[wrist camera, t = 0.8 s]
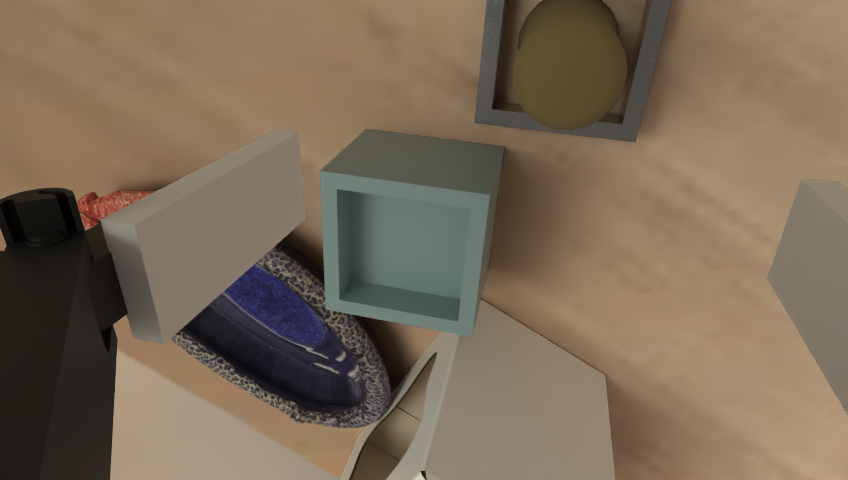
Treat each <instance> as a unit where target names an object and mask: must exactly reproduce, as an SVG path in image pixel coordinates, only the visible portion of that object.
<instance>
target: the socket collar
mask: <svg viewBox="0 0 848 480" xmlns="http://www.w3.org/2000/svg"><path fill="white" fill-rule="evenodd" d="M671 1H672V0H647V1H646V5H645V9H644V13H643V18H642V22H641V26H640V31H639V35H638V39H637V43H636V48H635V52H634V56H633V61H632V65H631V69H630V73H629V78H628V82H627V86H626V91H625V95H624V99H623V103H622V108H621V112H620V116H618V115H609V114H605V115H604V116H603V117H602V118H601V119H600V120H598V121H596V122H594V123H592V124H590V125H588V126H586V127H584V128H579V129H573V130H567V131H566V130H558V129H550V128H548V127H546V126H544V125H542V124H540V123H537V122H536V121H534V120H533V119H532V118H531V117H530V116H529V115H528V114H527V113H526V112H525V111H524V110H523V109H522V107H521V105H520V104H511V103H502V102H495V99H496V90H497V82H498V74H499V65H500V57H501V48H502V40H503V32H504V23H505V15H506V6H507V0H487V5H486V15H485V25H484V35H483V45H482V54H481V64H480V74H479V84H478V93H477V103H476V113H475V123H479V124H487V125H496V126H504V127H512V128H521V129H529V130H538V131H546V132H554V133H563V134H571V135H579V136H588V137H596V138H604V139H613V140H621V141H629V142H636V139H637V135H638V131H639V127H640V123H641V119H642V115H643V111H644V107H645V103H646V99H647V95H648V91H649V87H650V84H651V80H652V76H653V72H654V68H655V64H656V60H657V56H658V52H659V48H660V44H661V40H662V36H663V32H664V28H665V24H666V21H667V17H668V13H669V9H670V5H671Z"/></svg>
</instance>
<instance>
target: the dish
mask: <svg viewBox="0 0 848 480" xmlns="http://www.w3.org/2000/svg"><path fill="white" fill-rule="evenodd" d="M154 192H156V191H129V190H122V191H116V192H113V193H111V194H109V195H106V196H104V197H101V198H98V196H97V195H96V193H95V192H91V193H88V194H86V195H84V196H83V197H82V198H80V199H79V200H78V205H77V206H78V209H79V213H80V216H81V219H82V223H83V224H84V226H85V228H86V230H88V229H90V228H92V227H94V226H96V225H98V224H99V223H101V221H100V220H101V219H103V218H105V217H107V216H109V215H111V214H113V213H115V212H117V211H119V210H121V209H123V208H125V207H127V206H128V205H130V204H132V203H134V202H136V201H138V200H140V199H142V198H144V197H146V196H148V195H150V194H152V193H154ZM171 340H173V341H174V342H175V343H176V344H178V345H179V346H180V347H181V348H183V349H184V350H185V351H186V352H188V353H189V354H190V355H192V356H193V357H195V358H196V359H197V360H199V361H200V362H201V363H203V364H204V365H206V366H207V367H208V368H210V369H211V370H213V371H214V372H216V373H217V374H219V375H220V376H222V377H223V378H225V379H227V380H228V381H230V382H231V383H233V384H235V385H236V386H238V387H240V388H241V389H243V390H245V391H246V392H248V393H250V394H252V395H254V396H255V397H257V398H259V399H261V400H263V401H264V402H266V403H268V404H270V405H272V406H273V407H275V408H277V409H279V410H281V411H282V412H284V413H286V414H288V415H290V418H291V420H292V421H294V422H296V423H304V422H308V423H313V424H318V425H325V426H331V427H339V428H358V427H363V426H367V425H370V424H372V423H374V422H376V421H378V420H379V419H380V418H381V417H382V416H383V415H384V414H385V413H386V410H387V408H388V405H389V402H390V393H391V388H390V383H389V377H388V373H387V368H386V364H385V360H384V357H383V355H382V352H381V350H380V348H379V346H378V344H377V342H376V340H375V338H374V337H373V335H372V333H371V331H370V329H369V328H368V326H367V324H366V323H365V321H364V320H363V318H362V317H361V316H358V315H352V314H347V313H342V312H336V311H331V310H326V305H325V281H324V274H323V273H322V272H321V271H320V270H319V269H318V268H317V267H315V266H314V265H313V264H312V263H311V262H310V261H308V260H307V259H306V258H305V257H304V256H302V255H301V254H300V253H298V252H297V251H296V250H294V249H293V248H292V247H290V246H289V245H288V244H286V243H285V242H284V241H282V240H281V241H280V242H279V243H278V244H277V245H276V246H274V247H273V248H272V249H271V250H270V251H269V252H268V253H266V254H265V255H264V256H263V257H262V258H261V259H260V260H259V261H257V262H256V263H255V264H254V265H253V266H252V267H251V268H250V269H248V270H247V271H246V272H245V273H244V274H243V275H242V276H241V277H239V278H238V279H237V280H236V281H235V282H234V283H233V284H232V285H230V286H229V287H228V288H227V289H226V290H225V291H224V292H223V293H221V294H220V295H219V296H218V297H217V298H216V299H215V300H213V301H212V302H211V303H210V304H209V305H208V306H207V307H206V308H204V309H203V310H202V311H201V312H200V313H199V314H198V315H197V316H195V317H194V318H193V319H192V320H191V321H190V322H189V323H188V324H186V325H185V326H184V327H183V328H182V329H181V330H180V331H179V332H177V333H176V334H175V335H174V336H173V337H172V338H171Z"/></svg>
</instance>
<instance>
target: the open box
mask: <svg viewBox="0 0 848 480" xmlns="http://www.w3.org/2000/svg"><path fill="white" fill-rule="evenodd" d="M503 154H504V147H502V146H495V145H487V144H479V143H471V142H463V141H455V140H447V139H439V138H431V137H423V136H415V135H407V134H399V133H391V132H383V131H375V130H368V129H366V130H364V131H363V132H362V133H361V134H360V135H359V136H358V137H357V138H356V139H355V140H353V141H352V142H351V143H350V144H349V145H348V146H347V147H346V148H345V149H344V150H342V151H341V152H340V153H339V154H338V155H337V156H336V157H335V158H334V159H333V160H331V161H330V162H329V163H328V164H327V165H326V166H325V167H324V168H323V169H322V170H320V184H321V208H322V232H323V257H324V281H325V305H326V310H331V311H336V312H342V313H347V314H352V315H358V316H363V317H368V318H374V319H379V320H384V321H390V322H395V323H400V324H406V325H411V326H416V327H422V328H427V329H432V330H438V331H443V332H448V333H454V334H459V335H464V336H470V337H472V336H473V331H474V327H475V323H476V319H477V315H478V310H479V306H480V302H481V298H482V294H483V289H484V285H485V281H486V277H487V273H488V267H489V260H490V252H491V245H492V237H493V230H494V222H495V214H496V207H497V199H498V192H499V184H500V177H501V169H502V162H503Z"/></svg>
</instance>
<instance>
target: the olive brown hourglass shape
mask: <svg viewBox="0 0 848 480" xmlns="http://www.w3.org/2000/svg"><path fill="white" fill-rule="evenodd" d="M518 51H519V52H518V54H517V56H516V58H515V60H514V67H513V74H512V81H513V87H514V93H515V96H516V98H517V100H518V102H519V104H520V105H521V107H522V109H523V110H524V111H525V112H526V113H527V114H528V115H529V116H530V117H531V118H532V119H533V120H534V121H536V122H537V123H540V124H542V125H544V126H546V127H548V128H550V129H558V130H566V131H567V130H573V129H579V128H584V127H586V126H588V125H590V124H592V123H594V122H596V121H598V120H600V119H601V118H602V117H603V116H604V115H605V114H606V113H607V112H608V111H609V110H610V109H612V108H613V107H614V105H615V103H616V102H617V100H618V98H619V97H620V95H621V93H622V92H623V89H624V85H625V81H626V77H627V61H626V53H625V51H624V49H623V47H622V45H621V42H620V40H619V33H618V24H617V22H616V20H615V18H614V15H613V13H612V11H611V9H610V8H609V7H608V6H607V5H606V4H605V3H604V2H603V1H602V0H543V1H542V2H540V3H538V4H537V6H536V7H535V8H534V9H533V10H532V11H531V12H530V13H529V15H528V16H527V17H526V20H525V22H524V24H523V26H522V28H521V30H520V35H519V43H518Z"/></svg>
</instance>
